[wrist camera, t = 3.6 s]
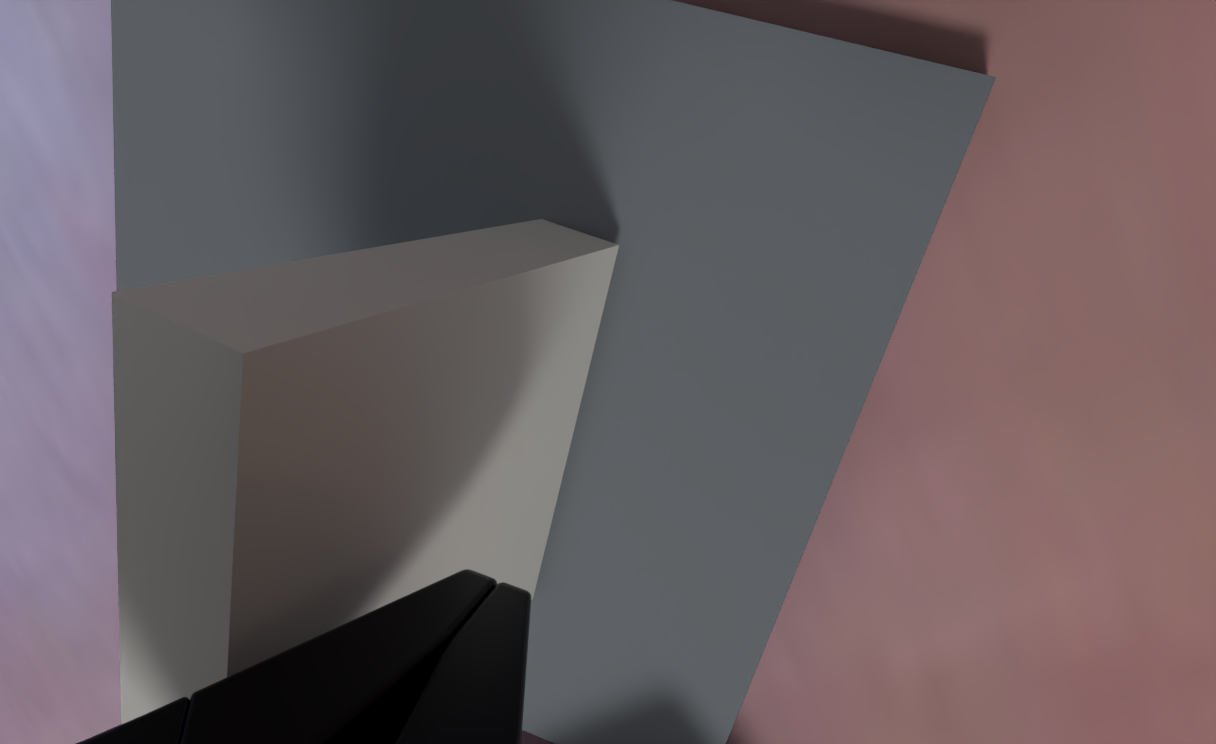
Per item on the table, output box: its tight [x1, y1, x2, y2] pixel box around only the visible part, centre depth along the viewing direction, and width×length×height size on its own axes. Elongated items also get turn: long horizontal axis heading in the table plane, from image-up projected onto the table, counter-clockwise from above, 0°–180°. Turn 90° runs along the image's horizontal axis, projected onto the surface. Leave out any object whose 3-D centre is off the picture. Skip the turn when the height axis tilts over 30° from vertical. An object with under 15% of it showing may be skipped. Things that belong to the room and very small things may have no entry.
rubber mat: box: [111, 0, 996, 744], centre depth 14 cm, size 14×14×1 cm
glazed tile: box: [112, 219, 619, 724], centre depth 10 cm, size 2×7×7 cm, turn 166°
